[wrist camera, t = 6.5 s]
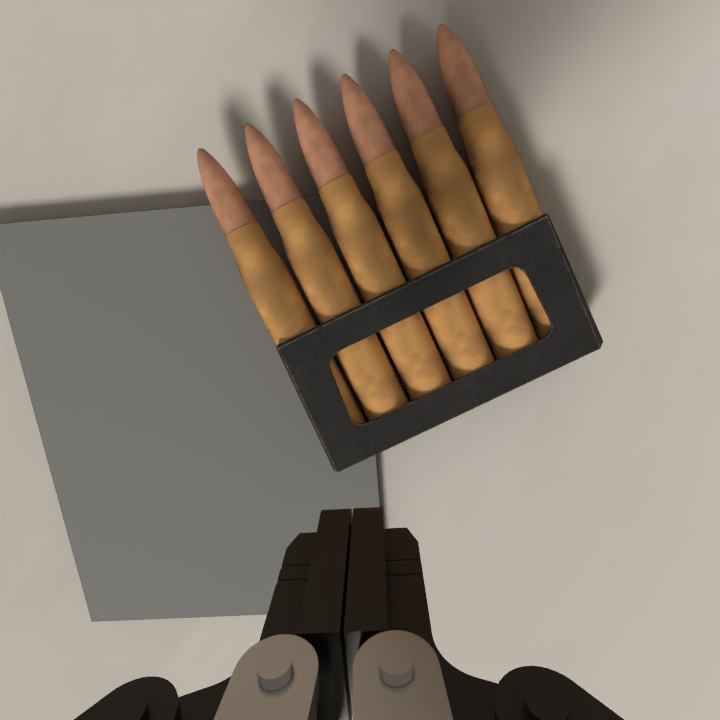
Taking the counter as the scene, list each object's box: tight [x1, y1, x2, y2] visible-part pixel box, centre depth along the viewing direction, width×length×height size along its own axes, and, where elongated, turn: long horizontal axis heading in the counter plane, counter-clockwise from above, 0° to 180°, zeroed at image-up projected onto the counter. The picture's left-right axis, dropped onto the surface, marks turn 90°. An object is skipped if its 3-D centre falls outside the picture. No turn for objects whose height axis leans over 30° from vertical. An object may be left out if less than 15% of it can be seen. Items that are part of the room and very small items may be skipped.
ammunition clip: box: [197, 24, 603, 473], centre depth 15 cm, size 11×2×12 cm
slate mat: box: [0, 195, 380, 622], centre depth 19 cm, size 14×18×1 cm
